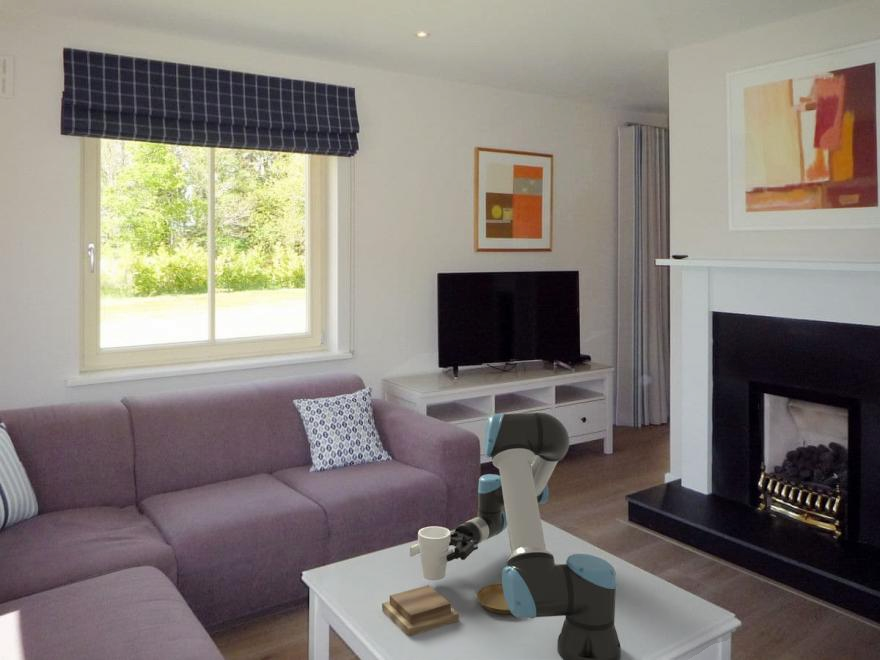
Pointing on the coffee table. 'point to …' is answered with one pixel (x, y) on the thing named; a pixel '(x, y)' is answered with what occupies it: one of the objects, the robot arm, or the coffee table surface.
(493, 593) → the plant saucer
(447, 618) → the plinth
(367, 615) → the coffee table surface
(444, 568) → the foam cup
